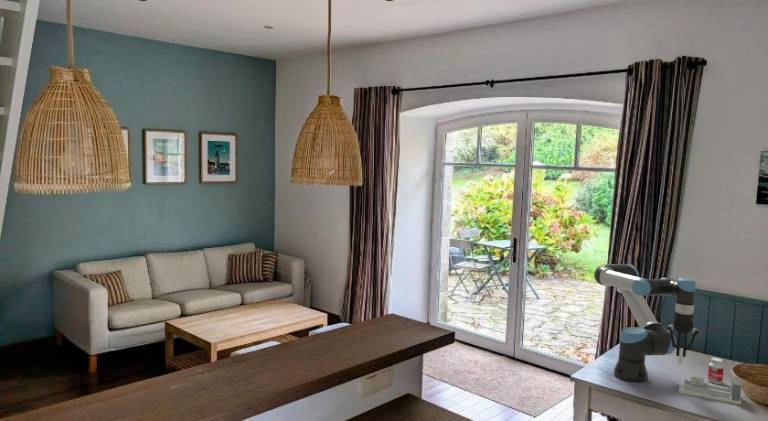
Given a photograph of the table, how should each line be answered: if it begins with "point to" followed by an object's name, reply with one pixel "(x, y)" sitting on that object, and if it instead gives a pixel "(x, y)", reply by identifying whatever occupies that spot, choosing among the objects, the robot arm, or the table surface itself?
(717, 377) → the pill bottle
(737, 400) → the base
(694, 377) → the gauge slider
